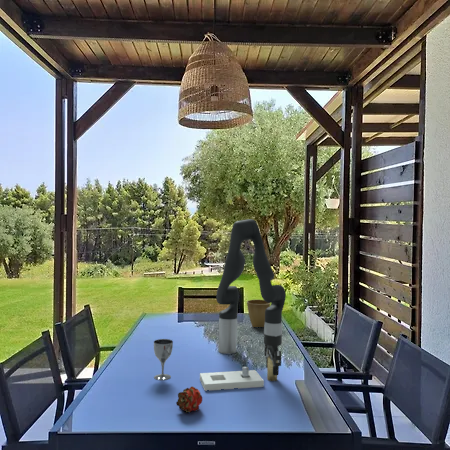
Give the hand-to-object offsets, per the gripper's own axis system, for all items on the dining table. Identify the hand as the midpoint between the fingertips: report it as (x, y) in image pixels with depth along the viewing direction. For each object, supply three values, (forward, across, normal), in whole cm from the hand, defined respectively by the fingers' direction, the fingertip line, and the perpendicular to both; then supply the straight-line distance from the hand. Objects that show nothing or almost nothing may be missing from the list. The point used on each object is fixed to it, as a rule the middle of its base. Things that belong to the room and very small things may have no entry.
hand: (272, 371), depth 173 cm
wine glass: (+4, -10, -45) cm, 46 cm away
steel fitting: (+3, +1, -12) cm, 12 cm away
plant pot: (+3, -87, +21) cm, 90 cm away
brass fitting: (+3, 0, 0) cm, 3 cm away
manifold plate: (+3, +1, -18) cm, 18 cm away
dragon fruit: (+4, +22, -38) cm, 44 cm away
